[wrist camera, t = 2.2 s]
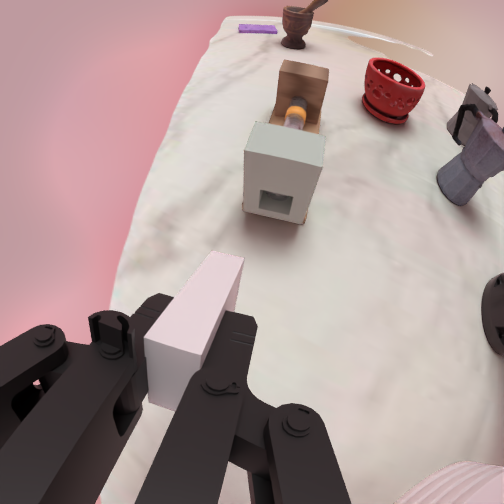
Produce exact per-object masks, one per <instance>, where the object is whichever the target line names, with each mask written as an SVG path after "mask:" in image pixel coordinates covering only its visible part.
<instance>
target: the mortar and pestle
mask: <svg viewBox="0 0 504 504" xmlns="http://www.w3.org/2000/svg"><path fill="white" fill-rule="evenodd" d="M327 1H328V0H314V1H313V2H312V3H311V4H310V5H309V6H308V7H307V8H301V7H294V6H293V7H292V6H286V7H284V10H283V20H282V23H283V28H284V30H285V32H286V33H287V36H286V37H284V38H283V39H282V42H281V43H282V45H284V46H285V47H288V48H294V49H301V48H305V42H304V40H302V37H303V35H305V34H307V33H308V30H309V29H310V27H311V24H312V19H313V14H314V13H313V11H314V10H315V9H317V8H318V7H320V6H322V5H323V4H325V3H326V2H327Z"/></svg>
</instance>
